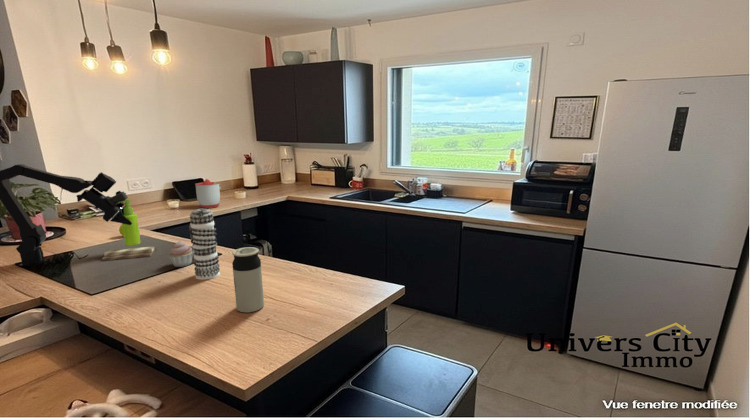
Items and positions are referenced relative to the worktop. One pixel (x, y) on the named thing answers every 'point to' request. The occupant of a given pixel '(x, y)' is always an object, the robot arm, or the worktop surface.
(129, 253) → the bar
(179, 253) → the cupcake
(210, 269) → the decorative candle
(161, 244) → the worktop surface
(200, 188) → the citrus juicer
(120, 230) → the ornament
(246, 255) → the travel mug
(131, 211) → the soap dispenser
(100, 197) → the robot arm
